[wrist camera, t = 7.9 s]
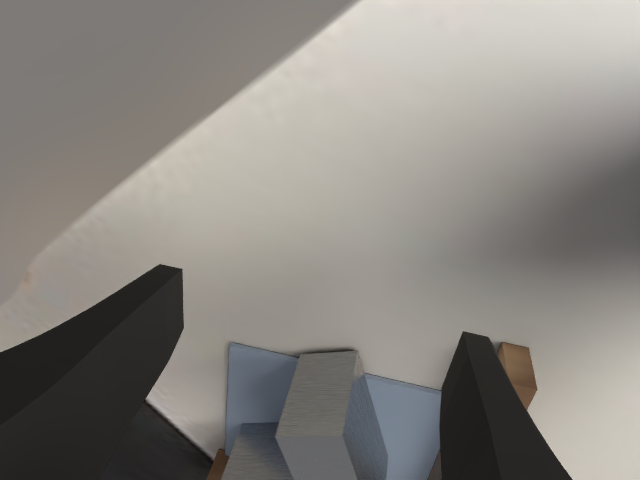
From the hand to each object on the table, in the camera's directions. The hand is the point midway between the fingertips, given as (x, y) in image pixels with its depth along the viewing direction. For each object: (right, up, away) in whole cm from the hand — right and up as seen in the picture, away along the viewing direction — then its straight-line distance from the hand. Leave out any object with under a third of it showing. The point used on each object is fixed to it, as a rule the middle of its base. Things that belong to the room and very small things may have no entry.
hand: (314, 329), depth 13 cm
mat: (+1, -8, +16) cm, 18 cm away
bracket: (-1, -7, +16) cm, 17 cm away
